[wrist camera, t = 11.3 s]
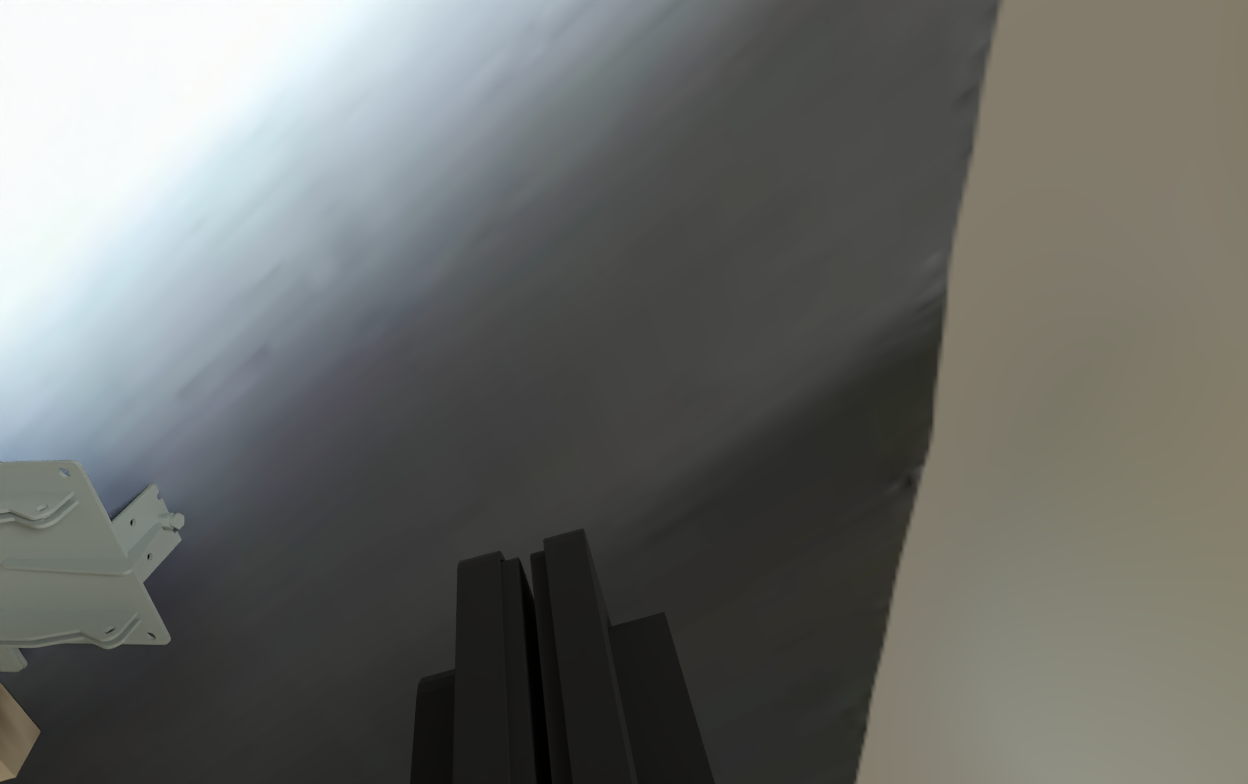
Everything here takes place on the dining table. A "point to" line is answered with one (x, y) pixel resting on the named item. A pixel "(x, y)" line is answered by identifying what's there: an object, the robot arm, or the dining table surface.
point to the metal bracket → (76, 562)
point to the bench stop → (14, 735)
